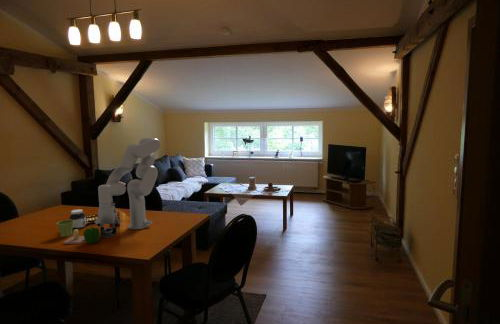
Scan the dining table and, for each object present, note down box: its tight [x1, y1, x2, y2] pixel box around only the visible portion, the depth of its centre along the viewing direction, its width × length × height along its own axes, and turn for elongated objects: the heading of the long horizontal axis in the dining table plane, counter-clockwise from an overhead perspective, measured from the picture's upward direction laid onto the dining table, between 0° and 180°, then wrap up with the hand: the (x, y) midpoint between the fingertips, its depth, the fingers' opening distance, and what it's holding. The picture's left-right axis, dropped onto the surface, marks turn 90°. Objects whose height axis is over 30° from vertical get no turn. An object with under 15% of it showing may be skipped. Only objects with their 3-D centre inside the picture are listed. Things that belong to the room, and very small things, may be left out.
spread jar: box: [68, 209, 87, 230], centre depth 216 cm, size 12×11×12 cm
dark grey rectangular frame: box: [99, 227, 118, 239], centre depth 200 cm, size 6×8×3 cm
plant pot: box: [56, 219, 74, 238], centre depth 201 cm, size 9×9×9 cm
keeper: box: [62, 229, 86, 245], centre depth 192 cm, size 10×10×6 cm
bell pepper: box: [83, 224, 100, 245], centre depth 189 cm, size 8×8×10 cm
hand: (108, 233), depth 200 cm, fingers closed on dark grey rectangular frame, 6 cm apart
